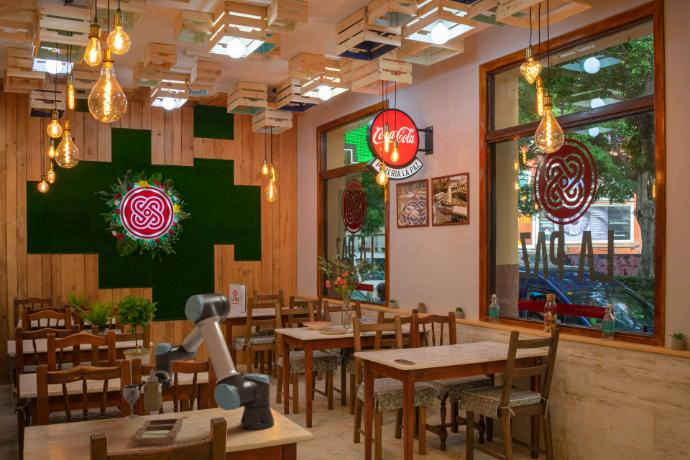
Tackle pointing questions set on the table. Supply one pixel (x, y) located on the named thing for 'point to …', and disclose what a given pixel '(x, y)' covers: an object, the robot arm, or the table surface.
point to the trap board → (158, 432)
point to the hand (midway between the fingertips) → (150, 389)
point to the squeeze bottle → (152, 393)
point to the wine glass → (131, 397)
